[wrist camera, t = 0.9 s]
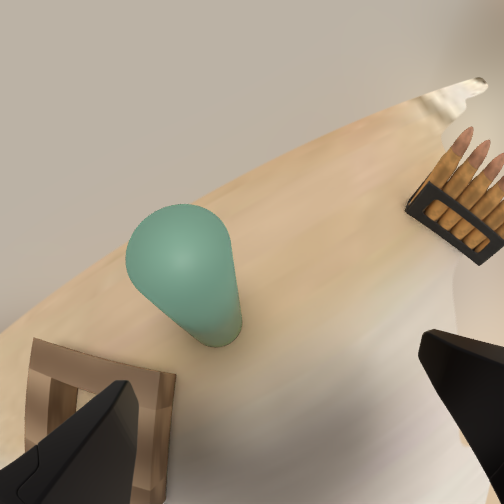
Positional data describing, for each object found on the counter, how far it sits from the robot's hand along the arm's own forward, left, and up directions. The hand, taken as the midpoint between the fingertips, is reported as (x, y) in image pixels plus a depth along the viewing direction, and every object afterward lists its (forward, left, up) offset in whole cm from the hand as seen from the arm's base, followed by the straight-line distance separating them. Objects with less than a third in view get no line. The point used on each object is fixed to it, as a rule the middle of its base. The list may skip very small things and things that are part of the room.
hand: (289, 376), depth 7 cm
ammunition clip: (+14, -18, -14) cm, 27 cm away
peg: (+4, +4, -14) cm, 15 cm away
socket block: (-6, +12, -14) cm, 19 cm away
